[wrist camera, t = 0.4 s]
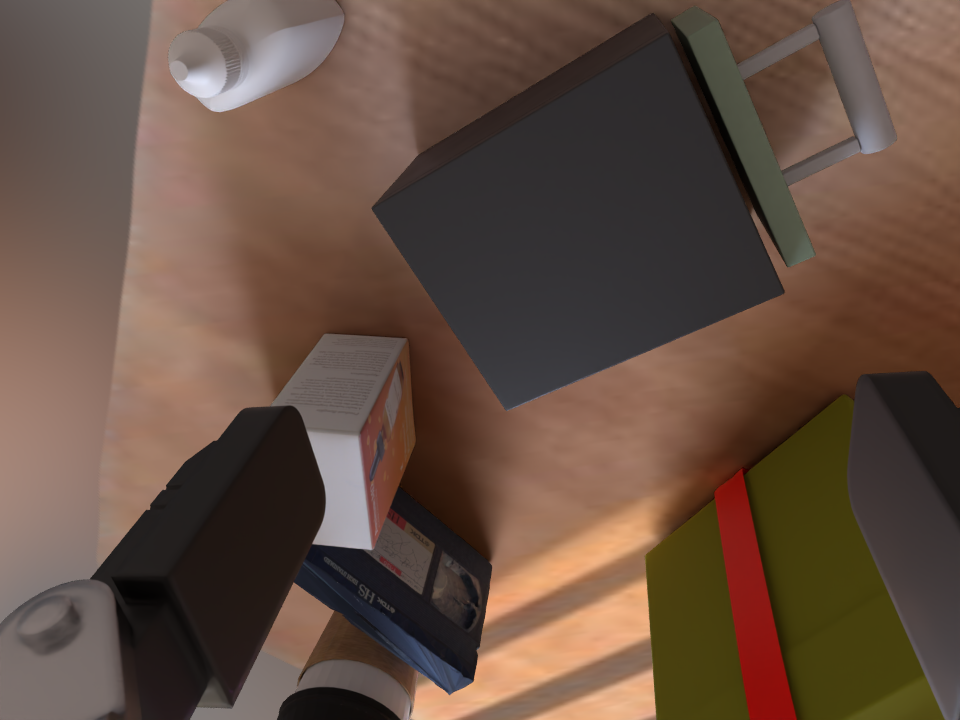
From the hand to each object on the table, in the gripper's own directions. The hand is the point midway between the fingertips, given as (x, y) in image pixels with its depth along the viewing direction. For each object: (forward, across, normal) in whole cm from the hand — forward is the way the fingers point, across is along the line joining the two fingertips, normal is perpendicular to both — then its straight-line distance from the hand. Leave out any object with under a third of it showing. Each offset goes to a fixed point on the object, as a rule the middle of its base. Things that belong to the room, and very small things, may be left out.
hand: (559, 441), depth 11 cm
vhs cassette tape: (+30, +16, +25) cm, 42 cm away
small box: (+30, +15, +16) cm, 37 cm away
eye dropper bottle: (+30, +14, -5) cm, 33 cm away
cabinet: (+29, +1, +5) cm, 30 cm away
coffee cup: (+30, +18, +33) cm, 48 cm away
